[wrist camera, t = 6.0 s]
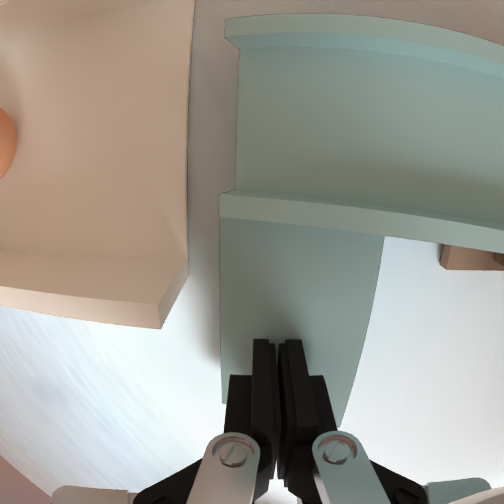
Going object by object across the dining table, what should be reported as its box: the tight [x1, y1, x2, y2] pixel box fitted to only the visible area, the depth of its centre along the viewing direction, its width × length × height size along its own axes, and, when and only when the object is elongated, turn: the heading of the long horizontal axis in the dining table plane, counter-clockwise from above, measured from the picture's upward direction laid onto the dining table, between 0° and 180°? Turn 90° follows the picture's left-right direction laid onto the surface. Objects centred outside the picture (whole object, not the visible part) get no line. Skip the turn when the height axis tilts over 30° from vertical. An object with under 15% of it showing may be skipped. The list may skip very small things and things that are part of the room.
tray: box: [0, 0, 195, 329], centre depth 9 cm, size 12×12×4 cm
